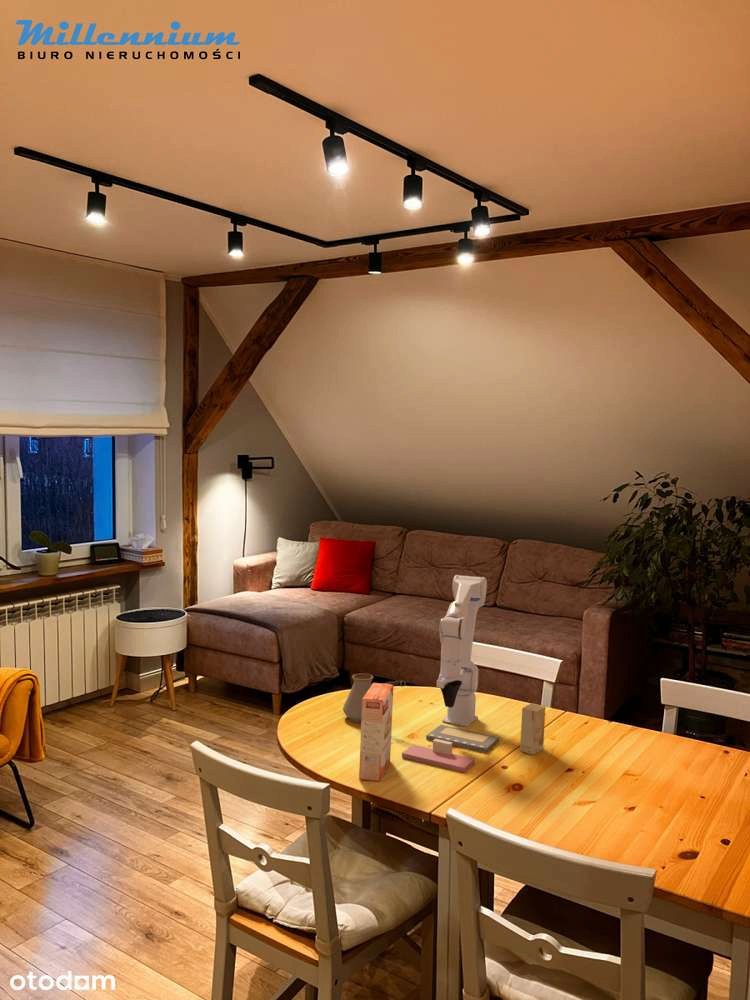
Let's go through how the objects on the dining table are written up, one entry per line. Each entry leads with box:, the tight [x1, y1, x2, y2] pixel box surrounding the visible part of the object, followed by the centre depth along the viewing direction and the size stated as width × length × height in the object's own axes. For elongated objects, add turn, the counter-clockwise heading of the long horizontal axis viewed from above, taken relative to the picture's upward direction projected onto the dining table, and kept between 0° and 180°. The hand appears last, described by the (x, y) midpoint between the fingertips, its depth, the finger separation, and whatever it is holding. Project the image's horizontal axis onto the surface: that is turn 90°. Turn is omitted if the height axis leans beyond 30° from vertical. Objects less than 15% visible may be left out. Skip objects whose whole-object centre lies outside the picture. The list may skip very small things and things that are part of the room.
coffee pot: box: [342, 673, 407, 723], centre depth 244 cm, size 21×12×15 cm, turn 51°
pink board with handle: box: [401, 739, 476, 773], centre depth 217 cm, size 7×18×4 cm, turn 61°
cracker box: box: [358, 682, 394, 782], centre depth 209 cm, size 14×6×21 cm, turn 168°
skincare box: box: [519, 702, 546, 755], centre depth 226 cm, size 6×4×12 cm
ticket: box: [425, 724, 500, 754], centre depth 232 cm, size 10×18×1 cm, turn 61°
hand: (449, 706), depth 232 cm, fingers closed
